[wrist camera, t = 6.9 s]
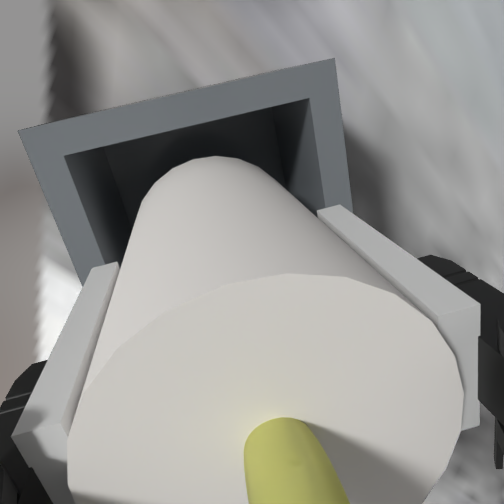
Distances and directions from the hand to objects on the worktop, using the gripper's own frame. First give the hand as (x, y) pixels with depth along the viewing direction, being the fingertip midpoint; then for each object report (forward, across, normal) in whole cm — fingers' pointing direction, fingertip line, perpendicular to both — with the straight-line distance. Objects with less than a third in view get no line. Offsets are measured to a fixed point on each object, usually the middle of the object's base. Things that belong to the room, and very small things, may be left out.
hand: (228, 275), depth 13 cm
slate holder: (+9, 0, 0) cm, 9 cm away
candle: (+4, 0, 0) cm, 4 cm away
